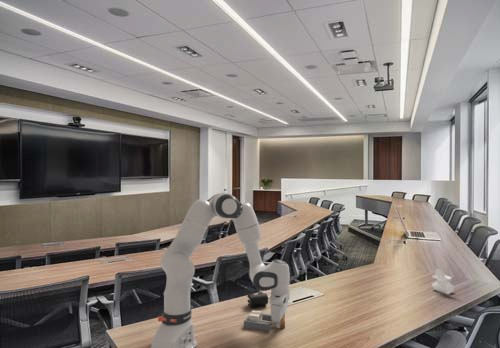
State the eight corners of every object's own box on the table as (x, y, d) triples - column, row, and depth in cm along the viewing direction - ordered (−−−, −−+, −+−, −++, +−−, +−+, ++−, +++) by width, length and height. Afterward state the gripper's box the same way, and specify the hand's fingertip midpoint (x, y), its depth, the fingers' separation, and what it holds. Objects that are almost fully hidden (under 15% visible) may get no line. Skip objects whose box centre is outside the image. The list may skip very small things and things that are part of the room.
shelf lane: (269, 331, 153) (269, 324, 153) (244, 327, 157) (243, 321, 157) (275, 321, 164) (275, 315, 164) (251, 317, 168) (251, 311, 168)
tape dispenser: (437, 286, 212) (437, 265, 212) (458, 293, 199) (458, 271, 199) (428, 288, 209) (427, 266, 209) (448, 295, 196) (448, 272, 196)
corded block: (283, 330, 154) (283, 319, 154) (248, 325, 159) (248, 315, 159) (286, 325, 159) (286, 314, 159) (252, 320, 165) (252, 310, 165)
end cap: (251, 309, 178) (251, 297, 178) (246, 305, 184) (246, 292, 184) (268, 307, 181) (268, 294, 181) (263, 302, 188) (263, 290, 188)
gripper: (279, 286, 168) (279, 314, 168) (268, 301, 149) (268, 332, 149) (291, 288, 166) (291, 315, 166) (282, 303, 147) (282, 334, 147)
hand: (280, 323), depth 157 cm, fingers open, 6 cm apart
